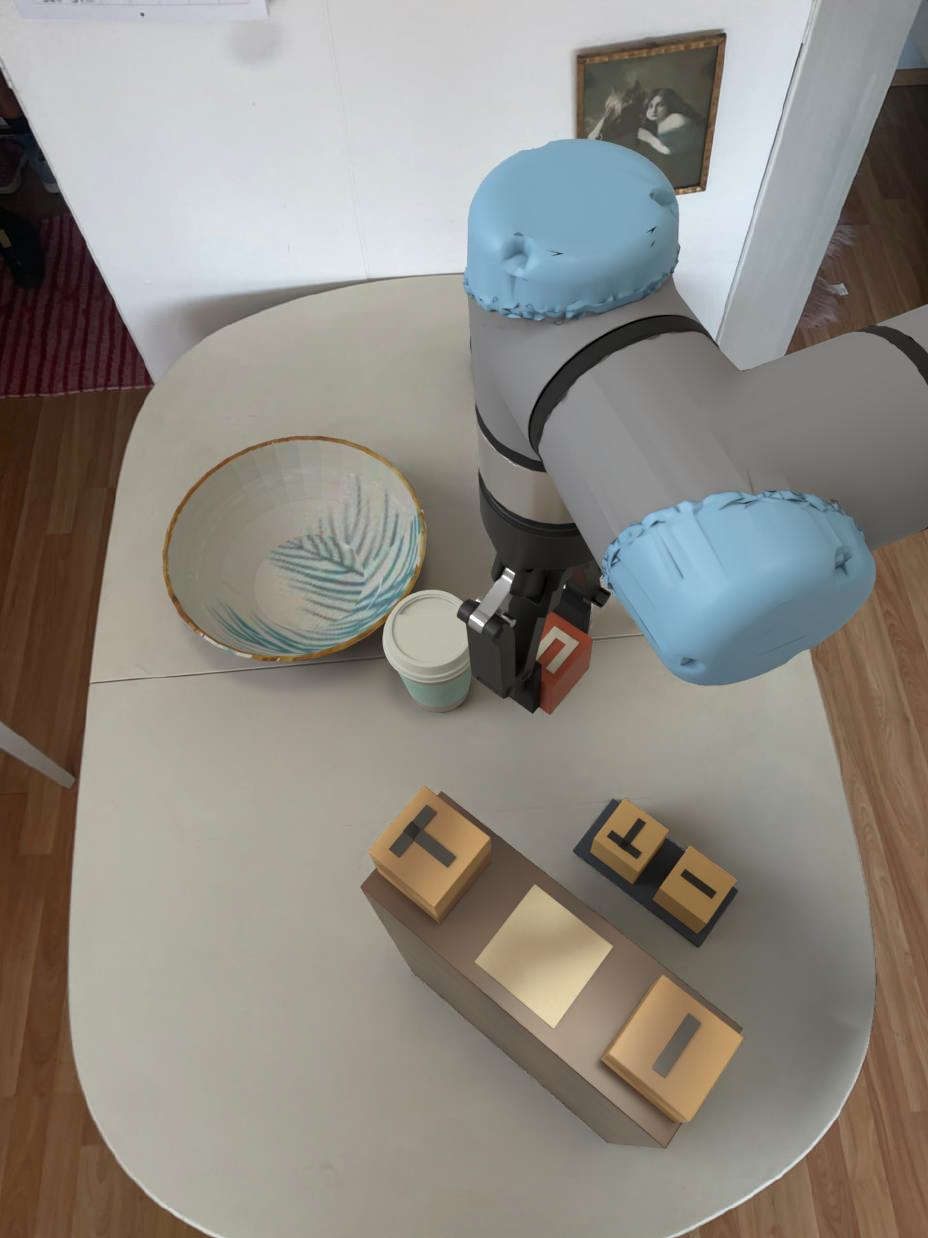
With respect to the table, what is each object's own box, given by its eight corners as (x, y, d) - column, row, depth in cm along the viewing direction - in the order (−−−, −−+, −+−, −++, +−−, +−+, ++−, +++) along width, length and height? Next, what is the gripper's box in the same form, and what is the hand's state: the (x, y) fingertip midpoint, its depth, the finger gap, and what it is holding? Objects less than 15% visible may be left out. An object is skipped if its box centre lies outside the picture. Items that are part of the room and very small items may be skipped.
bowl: (401, 457, 107) (393, 409, 100) (460, 658, 95) (456, 620, 88) (172, 513, 105) (147, 468, 98) (204, 725, 93) (179, 692, 86)
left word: (737, 891, 84) (750, 877, 80) (698, 948, 82) (709, 937, 78) (612, 799, 88) (618, 781, 84) (572, 851, 86) (576, 835, 82)
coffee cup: (498, 663, 95) (496, 604, 84) (460, 740, 92) (454, 688, 81) (418, 632, 97) (407, 570, 86) (379, 705, 94) (362, 650, 83)
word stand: (659, 1066, 78) (764, 1018, 46) (607, 1143, 76) (679, 1151, 43) (464, 905, 85) (435, 763, 52) (411, 971, 82) (347, 866, 50)
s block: (589, 668, 68) (594, 637, 64) (549, 715, 66) (552, 688, 62) (537, 632, 69) (538, 600, 65) (497, 678, 68) (496, 648, 64)
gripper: (599, 320, 51) (575, 556, 72) (376, 547, 45) (419, 733, 66) (723, 388, 49) (661, 612, 69) (504, 637, 43) (507, 801, 63)
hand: (543, 671), depth 67 cm, fingers closed on s block, 4 cm apart
